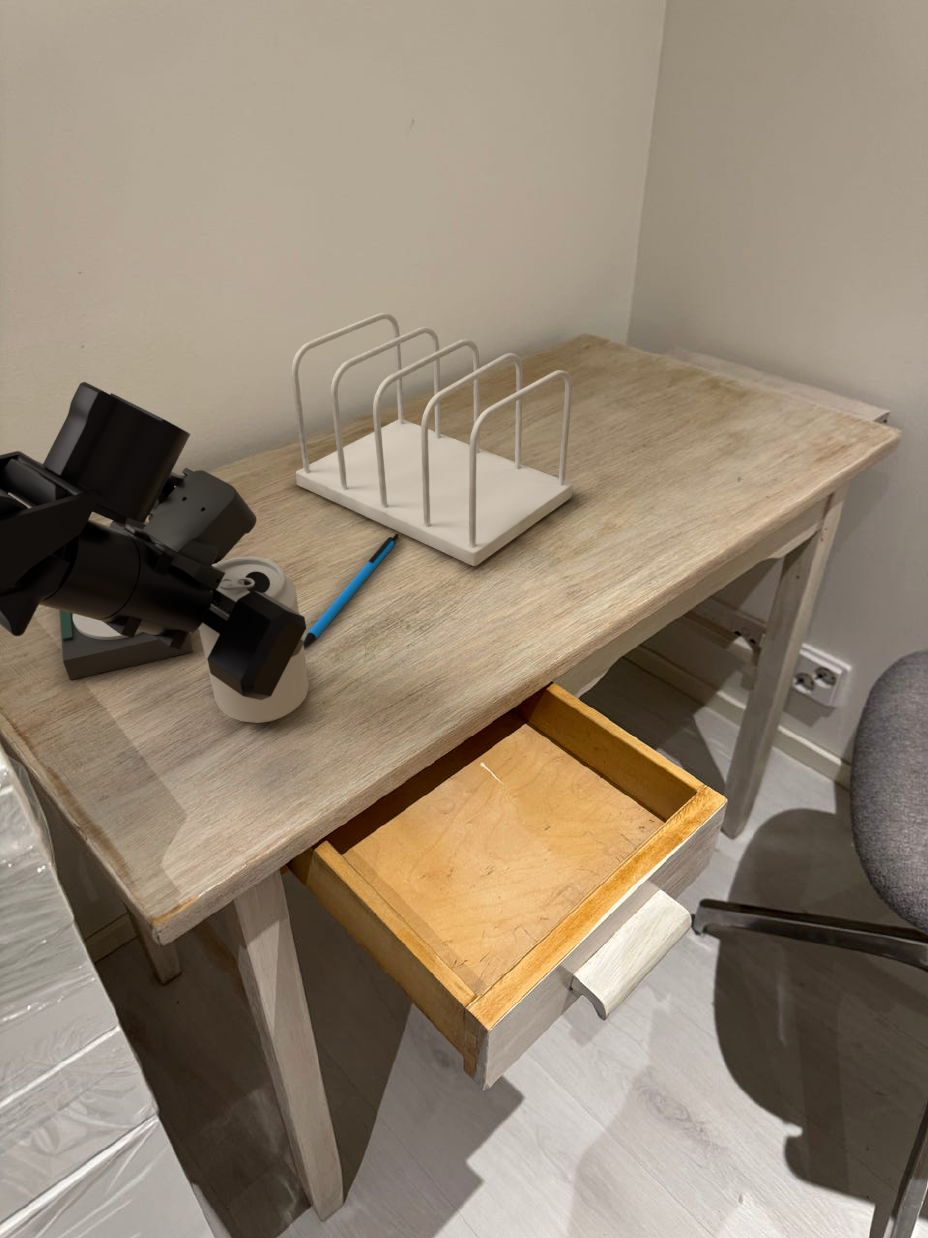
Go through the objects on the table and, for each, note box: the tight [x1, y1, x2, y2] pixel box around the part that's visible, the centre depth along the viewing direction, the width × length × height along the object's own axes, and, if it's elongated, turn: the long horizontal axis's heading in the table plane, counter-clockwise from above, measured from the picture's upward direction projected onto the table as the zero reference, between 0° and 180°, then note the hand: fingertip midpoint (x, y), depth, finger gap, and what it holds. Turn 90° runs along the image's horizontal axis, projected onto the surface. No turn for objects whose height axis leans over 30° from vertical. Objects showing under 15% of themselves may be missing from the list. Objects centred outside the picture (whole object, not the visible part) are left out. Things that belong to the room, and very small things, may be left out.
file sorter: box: [291, 312, 574, 567], centre depth 93 cm, size 25×17×16 cm
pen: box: [303, 533, 400, 649], centre depth 84 cm, size 1×19×1 cm, turn 158°
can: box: [198, 555, 310, 724], centre depth 69 cm, size 8×8×12 cm
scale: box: [58, 610, 193, 681], centre depth 78 cm, size 10×10×3 cm
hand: (266, 626), depth 69 cm, fingers closed on can, 7 cm apart
